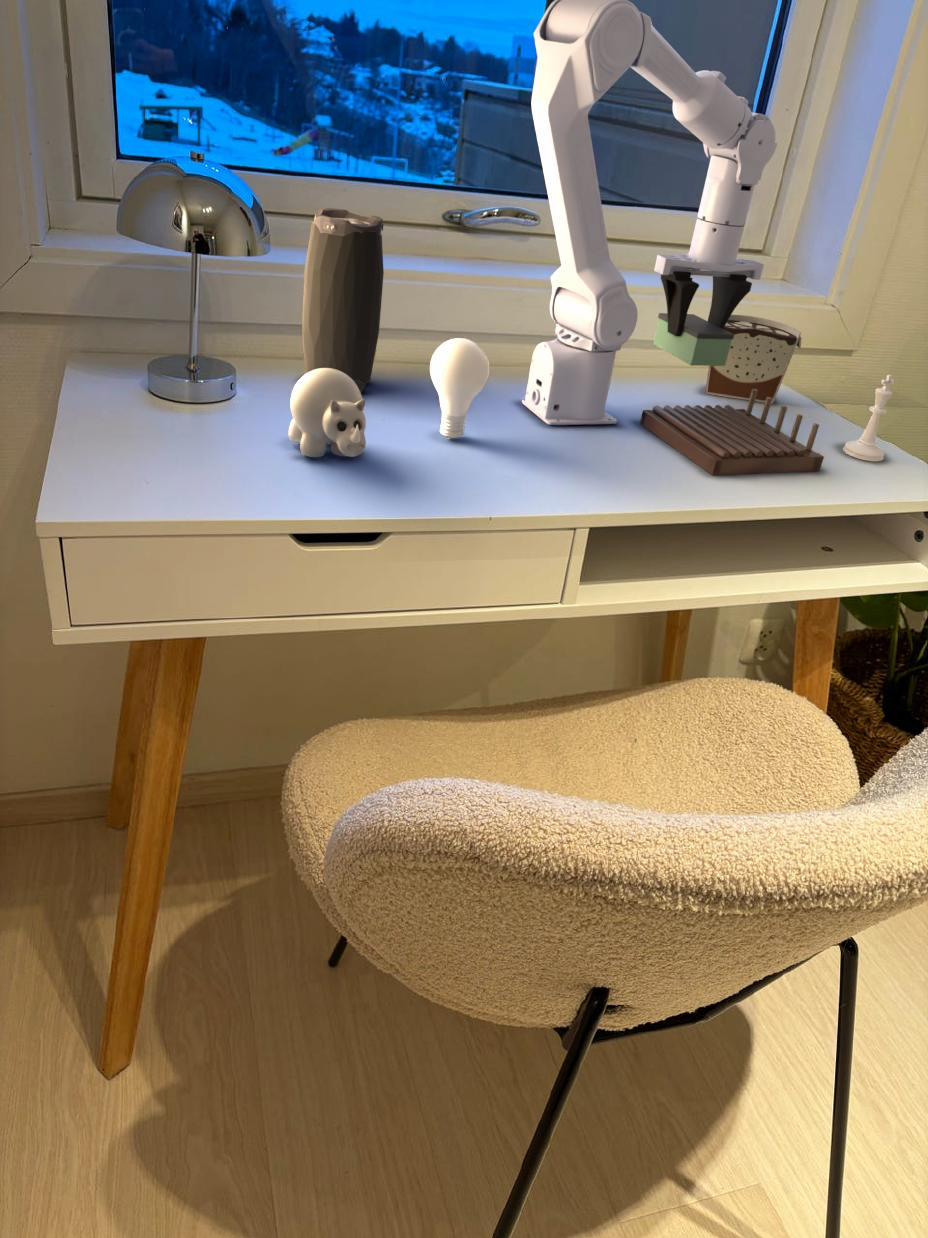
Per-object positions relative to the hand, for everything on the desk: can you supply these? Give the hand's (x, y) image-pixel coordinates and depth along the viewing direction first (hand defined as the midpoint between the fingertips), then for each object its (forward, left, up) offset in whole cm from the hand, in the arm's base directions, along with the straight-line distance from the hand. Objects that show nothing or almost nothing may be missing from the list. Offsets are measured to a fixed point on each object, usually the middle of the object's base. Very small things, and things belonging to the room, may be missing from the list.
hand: (693, 334), depth 128 cm
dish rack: (-2, -14, -9) cm, 17 cm away
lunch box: (0, 0, -3) cm, 3 cm away
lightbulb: (-36, -10, -10) cm, 38 cm away
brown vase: (-44, +8, -10) cm, 46 cm away
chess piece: (+16, -18, -10) cm, 26 cm away
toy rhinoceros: (-51, -15, -10) cm, 54 cm away
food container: (+13, +5, -10) cm, 17 cm away
